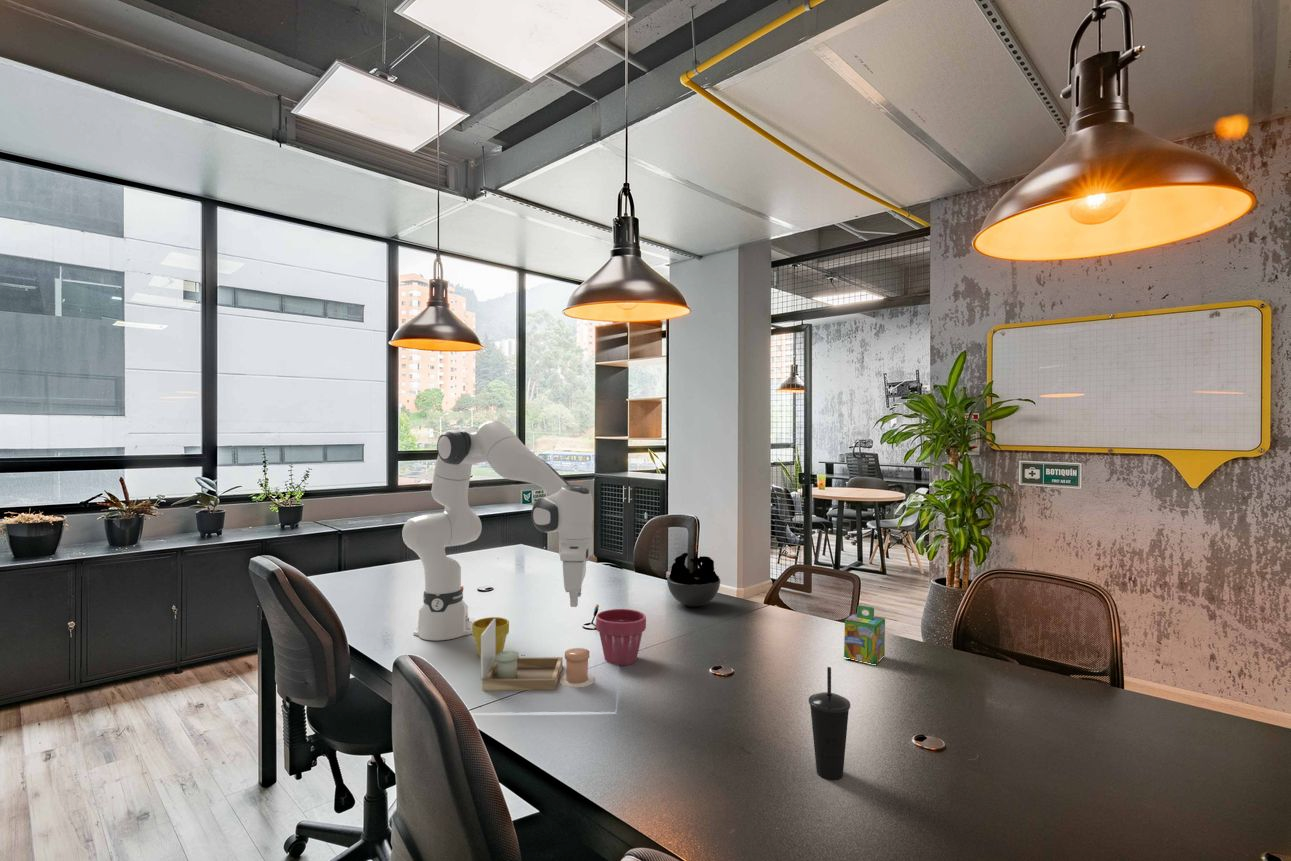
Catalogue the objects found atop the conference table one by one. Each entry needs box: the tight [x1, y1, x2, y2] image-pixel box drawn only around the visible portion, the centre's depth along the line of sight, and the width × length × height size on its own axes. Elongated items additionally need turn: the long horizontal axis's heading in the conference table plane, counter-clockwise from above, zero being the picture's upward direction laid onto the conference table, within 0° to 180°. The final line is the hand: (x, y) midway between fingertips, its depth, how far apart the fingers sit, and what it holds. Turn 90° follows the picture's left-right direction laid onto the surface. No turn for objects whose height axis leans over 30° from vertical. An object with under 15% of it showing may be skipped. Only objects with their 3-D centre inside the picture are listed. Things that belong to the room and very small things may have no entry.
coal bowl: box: [666, 552, 721, 607], centre depth 234 cm, size 20×20×19 cm
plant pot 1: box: [471, 616, 510, 658], centre depth 181 cm, size 10×10×10 cm
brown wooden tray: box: [482, 656, 563, 692], centre depth 163 cm, size 16×18×3 cm
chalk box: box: [843, 605, 886, 665], centre depth 178 cm, size 9×9×15 cm
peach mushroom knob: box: [564, 647, 590, 684], centre depth 161 cm, size 6×6×7 cm
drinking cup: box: [808, 666, 851, 781], centre depth 118 cm, size 8×8×20 cm
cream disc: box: [559, 673, 595, 689], centre depth 161 cm, size 9×9×1 cm
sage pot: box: [496, 650, 520, 679], centre depth 163 cm, size 6×6×6 cm
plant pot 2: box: [595, 608, 647, 666], centre depth 177 cm, size 14×14×13 cm
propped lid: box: [480, 619, 496, 682], centre depth 163 cm, size 14×1×11 cm, turn 1°
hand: (575, 601), depth 162 cm, fingers open, 8 cm apart
